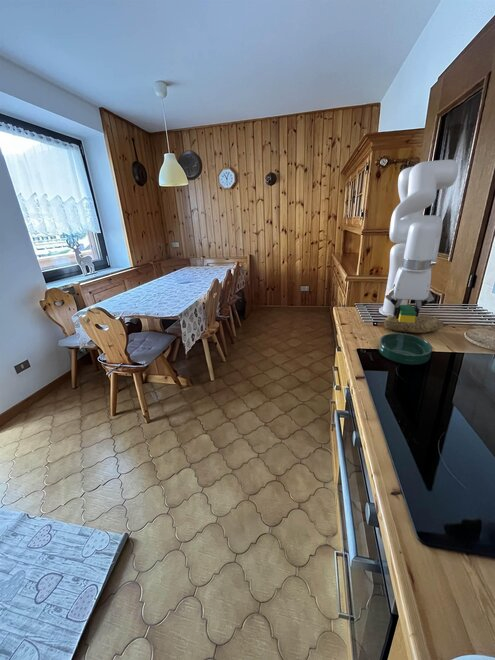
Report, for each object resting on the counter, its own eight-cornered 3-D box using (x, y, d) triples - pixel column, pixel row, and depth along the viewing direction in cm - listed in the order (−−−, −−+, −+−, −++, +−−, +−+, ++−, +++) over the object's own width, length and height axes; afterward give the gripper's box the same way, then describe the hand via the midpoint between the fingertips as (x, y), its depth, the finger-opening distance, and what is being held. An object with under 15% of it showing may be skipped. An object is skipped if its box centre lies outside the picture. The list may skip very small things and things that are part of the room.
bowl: (375, 340, 109) (377, 331, 108) (422, 344, 105) (424, 334, 103) (381, 363, 95) (383, 353, 94) (435, 368, 91) (438, 358, 89)
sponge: (383, 335, 116) (442, 336, 104) (383, 316, 114) (442, 315, 102) (389, 328, 126) (444, 329, 114) (389, 311, 125) (444, 309, 113)
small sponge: (395, 313, 100) (397, 304, 98) (409, 314, 99) (411, 305, 97) (399, 321, 94) (401, 312, 92) (414, 322, 93) (416, 312, 91)
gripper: (443, 261, 89) (429, 315, 97) (384, 261, 94) (376, 312, 102) (451, 267, 83) (436, 324, 91) (388, 266, 87) (379, 320, 95)
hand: (404, 317), depth 96 cm, fingers closed on small sponge, 4 cm apart
